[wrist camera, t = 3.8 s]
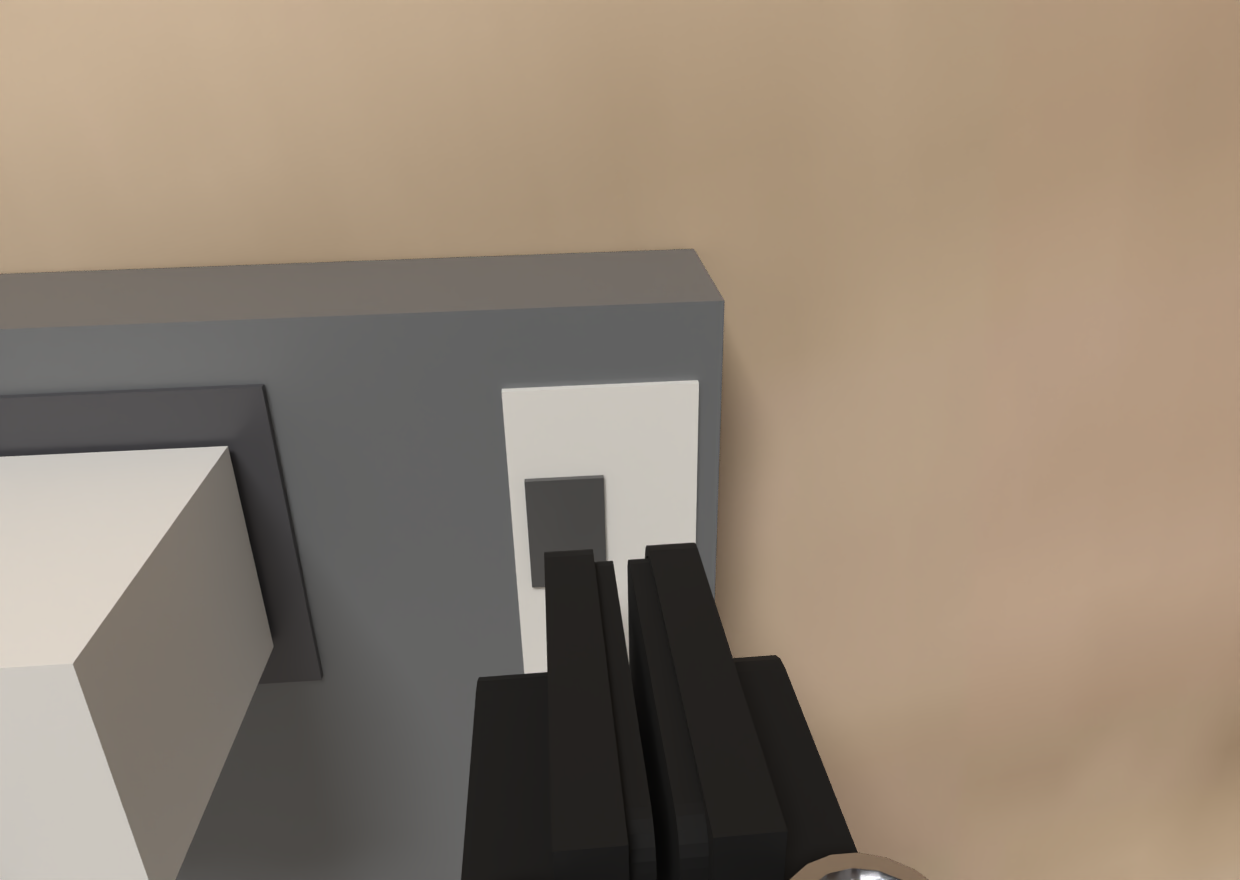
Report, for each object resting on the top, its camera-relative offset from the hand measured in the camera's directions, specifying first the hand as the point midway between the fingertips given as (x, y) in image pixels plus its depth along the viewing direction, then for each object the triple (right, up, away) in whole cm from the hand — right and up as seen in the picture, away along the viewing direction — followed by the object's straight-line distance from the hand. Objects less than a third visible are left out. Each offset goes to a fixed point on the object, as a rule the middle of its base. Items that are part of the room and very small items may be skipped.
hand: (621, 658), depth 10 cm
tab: (-7, +1, +1) cm, 7 cm away
